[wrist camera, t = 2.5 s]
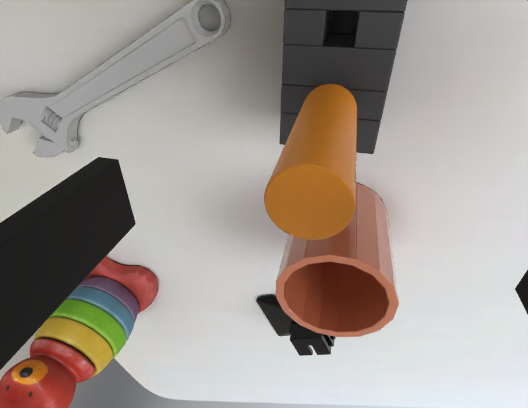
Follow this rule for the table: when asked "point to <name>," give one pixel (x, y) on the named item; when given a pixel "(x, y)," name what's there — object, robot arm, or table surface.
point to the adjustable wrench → (109, 79)
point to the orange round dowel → (317, 167)
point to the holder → (340, 59)
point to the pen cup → (342, 275)
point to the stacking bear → (79, 336)
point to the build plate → (294, 328)
